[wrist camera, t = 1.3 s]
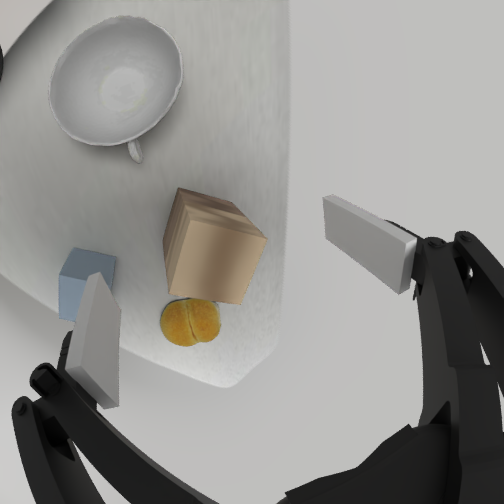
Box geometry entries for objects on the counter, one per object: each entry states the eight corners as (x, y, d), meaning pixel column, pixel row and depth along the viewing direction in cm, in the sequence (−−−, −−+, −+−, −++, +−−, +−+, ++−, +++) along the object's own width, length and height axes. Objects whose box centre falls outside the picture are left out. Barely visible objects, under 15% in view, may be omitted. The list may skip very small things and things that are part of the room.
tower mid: (165, 262, 28) (169, 294, 23) (183, 200, 26) (190, 219, 21) (225, 274, 32) (240, 304, 26) (246, 217, 29) (267, 239, 24)
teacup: (63, 64, 20) (39, 48, 13) (165, 27, 22) (169, -1, 15) (92, 177, 27) (74, 193, 20) (193, 140, 30) (204, 145, 23)
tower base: (162, 240, 34) (165, 262, 28) (178, 187, 31) (183, 200, 26) (214, 251, 37) (225, 274, 32) (231, 202, 34) (246, 217, 29)
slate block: (70, 286, 31) (59, 318, 26) (73, 247, 30) (58, 274, 24) (110, 295, 34) (105, 328, 28) (116, 256, 32) (109, 285, 26)
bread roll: (154, 302, 37) (155, 319, 34) (214, 289, 39) (221, 305, 36) (167, 343, 41) (169, 361, 37) (221, 331, 43) (227, 348, 40)
